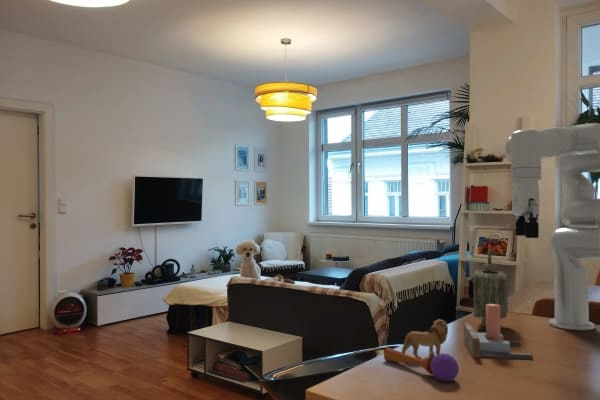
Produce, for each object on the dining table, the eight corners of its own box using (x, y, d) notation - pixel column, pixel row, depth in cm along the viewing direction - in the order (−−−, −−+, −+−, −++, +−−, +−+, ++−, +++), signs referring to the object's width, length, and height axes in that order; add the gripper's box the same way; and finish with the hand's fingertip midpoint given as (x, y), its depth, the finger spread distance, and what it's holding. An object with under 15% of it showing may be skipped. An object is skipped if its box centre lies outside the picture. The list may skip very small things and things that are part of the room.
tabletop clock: (478, 321, 159) (478, 246, 159) (508, 324, 155) (507, 247, 155) (473, 331, 146) (473, 250, 146) (505, 334, 142) (504, 251, 142)
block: (471, 342, 133) (471, 332, 133) (501, 344, 131) (501, 333, 131) (477, 353, 123) (477, 342, 123) (510, 355, 121) (510, 343, 121)
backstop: (463, 340, 136) (463, 323, 136) (517, 342, 133) (517, 325, 133) (473, 357, 120) (473, 338, 120) (534, 361, 117) (534, 341, 118)
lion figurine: (439, 350, 127) (439, 316, 127) (453, 355, 122) (453, 321, 122) (394, 357, 121) (394, 322, 121) (407, 364, 116) (407, 327, 116)
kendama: (397, 342, 121) (464, 356, 105) (395, 366, 120) (463, 384, 104) (380, 342, 118) (447, 355, 102) (379, 367, 117) (446, 384, 100)
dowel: (484, 347, 129) (484, 303, 129) (498, 348, 128) (498, 304, 128) (487, 351, 125) (487, 306, 126) (502, 352, 125) (501, 306, 125)
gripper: (504, 177, 140) (504, 234, 139) (519, 173, 123) (520, 238, 122) (531, 176, 138) (532, 234, 138) (551, 172, 121) (551, 239, 121)
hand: (526, 236), depth 130 cm, fingers open, 9 cm apart
